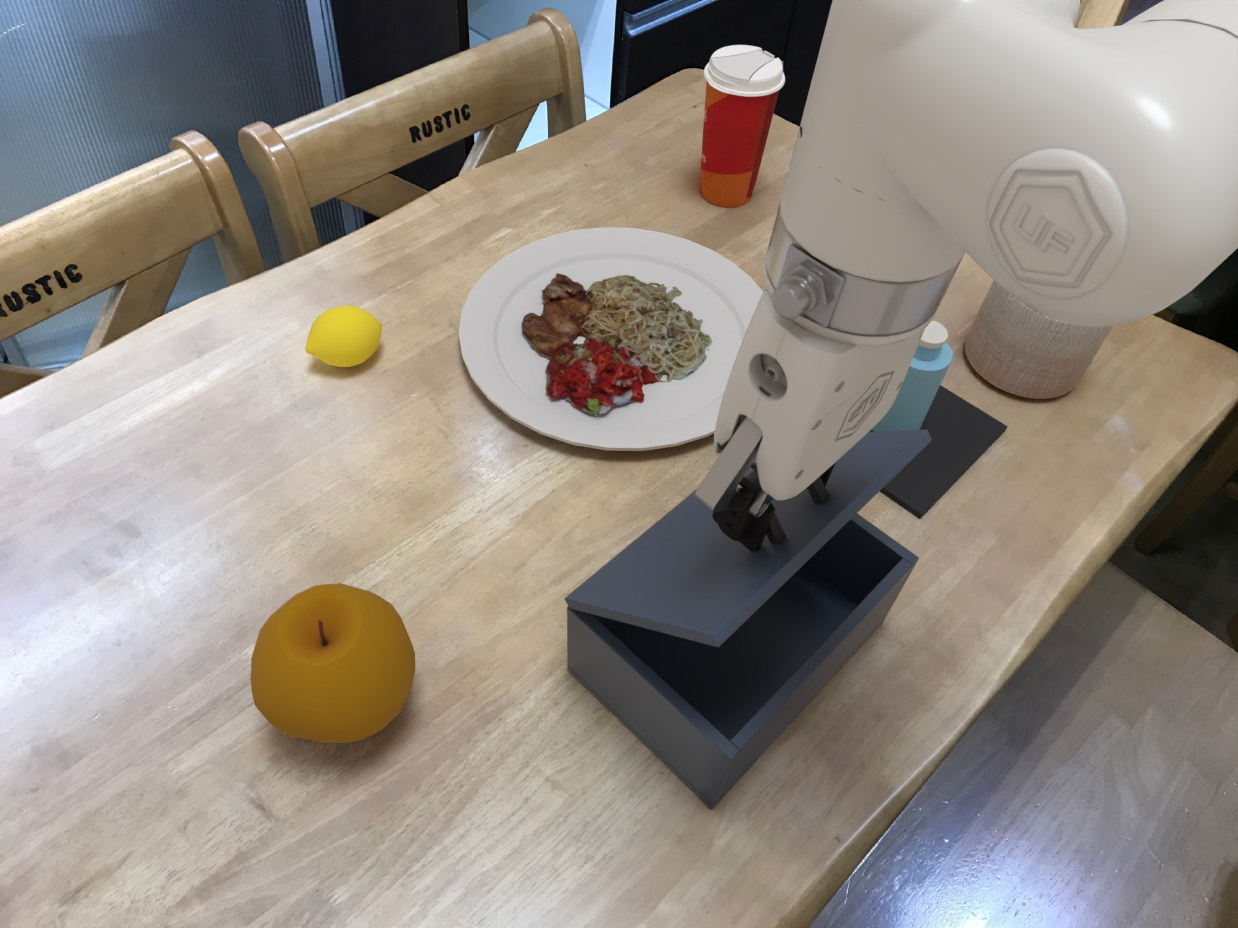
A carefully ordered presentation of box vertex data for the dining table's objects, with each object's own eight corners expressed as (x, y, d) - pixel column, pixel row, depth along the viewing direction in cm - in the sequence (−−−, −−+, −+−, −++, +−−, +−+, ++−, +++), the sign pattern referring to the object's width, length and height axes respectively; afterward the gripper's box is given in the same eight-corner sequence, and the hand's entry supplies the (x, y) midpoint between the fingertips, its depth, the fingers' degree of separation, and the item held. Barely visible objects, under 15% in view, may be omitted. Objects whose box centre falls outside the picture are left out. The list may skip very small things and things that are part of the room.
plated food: (742, 237, 95) (747, 210, 92) (813, 451, 76) (822, 425, 74) (459, 247, 92) (456, 220, 89) (461, 473, 73) (457, 447, 70)
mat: (1005, 430, 79) (1007, 426, 78) (919, 519, 72) (922, 514, 72) (866, 344, 85) (867, 340, 85) (776, 418, 78) (777, 414, 78)
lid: (932, 440, 53) (903, 366, 51) (718, 648, 43) (675, 565, 42) (765, 445, 65) (737, 385, 63) (569, 608, 55) (531, 543, 54)
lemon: (375, 328, 84) (365, 283, 79) (397, 364, 81) (388, 319, 76) (302, 353, 81) (288, 308, 77) (322, 390, 78) (309, 346, 74)
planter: (1055, 421, 80) (1104, 343, 72) (943, 367, 84) (979, 287, 76) (1094, 356, 85) (1144, 278, 78) (987, 308, 89) (1025, 229, 82)
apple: (278, 790, 56) (222, 716, 47) (278, 654, 62) (228, 565, 53) (433, 757, 58) (407, 679, 49) (419, 628, 64) (393, 537, 55)
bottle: (930, 421, 78) (972, 332, 70) (900, 449, 76) (940, 361, 68) (885, 392, 80) (921, 302, 72) (854, 419, 78) (888, 329, 70)
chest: (883, 621, 66) (919, 557, 59) (711, 810, 57) (731, 759, 50) (743, 514, 72) (761, 444, 65) (566, 669, 63) (566, 607, 56)
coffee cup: (726, 163, 104) (746, 34, 92) (777, 196, 100) (804, 67, 88) (673, 187, 100) (687, 57, 88) (723, 223, 96) (745, 91, 85)
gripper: (806, 413, 31) (721, 640, 46) (1038, 218, 39) (903, 464, 54) (653, 301, 34) (618, 548, 49) (898, 141, 42) (806, 394, 57)
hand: (768, 502), depth 51 cm, fingers closed on lid, 5 cm apart
